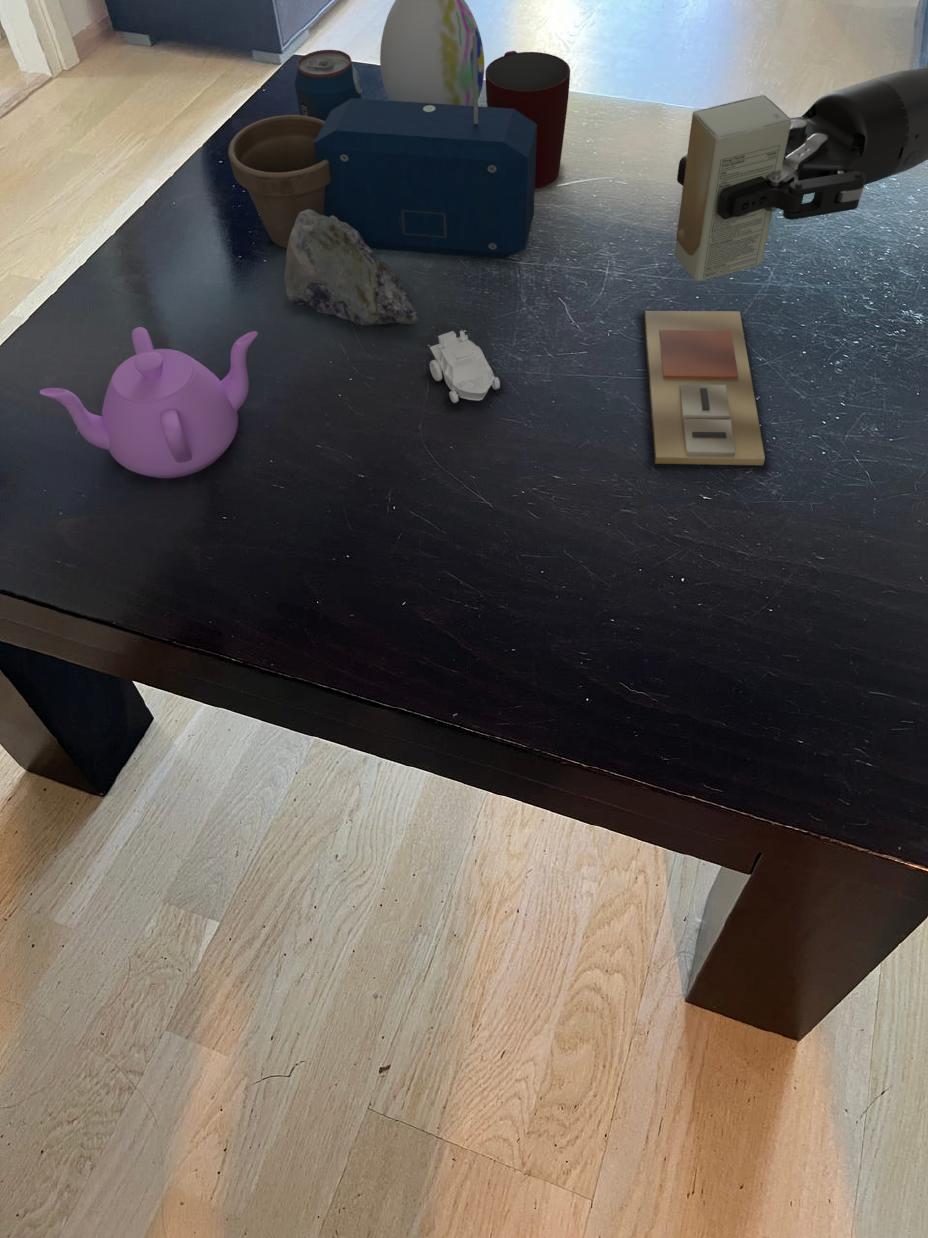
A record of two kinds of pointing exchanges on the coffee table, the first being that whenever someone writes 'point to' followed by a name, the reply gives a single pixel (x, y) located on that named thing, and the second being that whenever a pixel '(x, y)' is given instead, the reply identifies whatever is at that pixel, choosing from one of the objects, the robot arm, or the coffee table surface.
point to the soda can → (325, 82)
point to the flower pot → (281, 170)
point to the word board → (701, 389)
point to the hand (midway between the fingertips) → (701, 188)
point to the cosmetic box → (727, 184)
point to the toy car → (462, 367)
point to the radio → (431, 175)
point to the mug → (534, 101)
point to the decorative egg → (430, 52)
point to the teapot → (164, 409)
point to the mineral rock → (342, 274)
